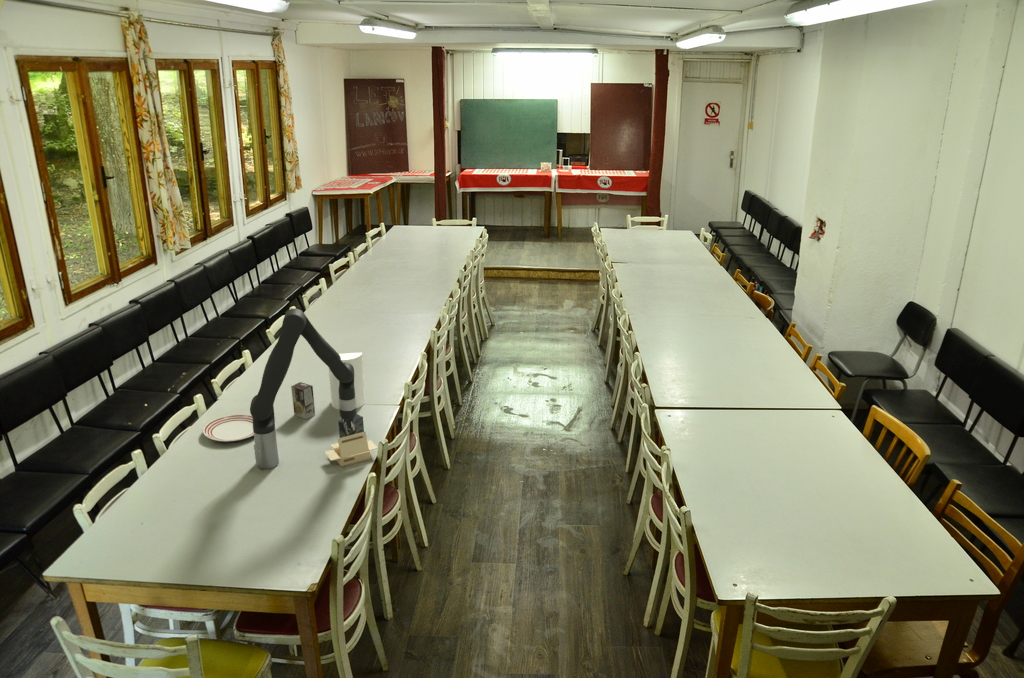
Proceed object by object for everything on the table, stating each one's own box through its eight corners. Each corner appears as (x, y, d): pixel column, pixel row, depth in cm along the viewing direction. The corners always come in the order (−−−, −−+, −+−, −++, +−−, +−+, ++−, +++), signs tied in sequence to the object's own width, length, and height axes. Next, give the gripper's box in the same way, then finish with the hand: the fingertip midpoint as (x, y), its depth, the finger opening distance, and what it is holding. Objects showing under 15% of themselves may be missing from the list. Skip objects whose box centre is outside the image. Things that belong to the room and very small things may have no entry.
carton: (332, 469, 337) (331, 461, 336) (321, 455, 348) (320, 447, 347) (378, 456, 348) (378, 448, 347) (367, 443, 360) (366, 435, 358)
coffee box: (315, 414, 386) (313, 385, 380) (306, 419, 381) (303, 390, 375) (303, 409, 391) (300, 381, 385) (293, 414, 386) (290, 385, 380)
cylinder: (365, 408, 393) (362, 358, 383) (331, 411, 390) (327, 361, 380) (364, 394, 409) (361, 346, 399) (331, 396, 406) (327, 348, 395)
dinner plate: (263, 416, 384) (262, 410, 383) (264, 442, 360) (263, 435, 359) (205, 423, 376) (204, 417, 375) (202, 450, 352) (201, 443, 351)
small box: (356, 431, 370) (355, 412, 366) (365, 436, 366) (363, 416, 363) (338, 439, 363) (337, 420, 359) (347, 444, 359) (346, 424, 355)
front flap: (341, 458, 338) (337, 438, 337) (341, 458, 338) (337, 438, 338) (369, 450, 344) (365, 431, 344) (368, 450, 344) (365, 431, 344)
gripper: (334, 402, 341) (336, 436, 348) (345, 414, 331) (347, 448, 338) (350, 398, 345) (352, 432, 352) (361, 410, 335) (363, 444, 341)
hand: (350, 440), depth 345 cm, fingers closed
